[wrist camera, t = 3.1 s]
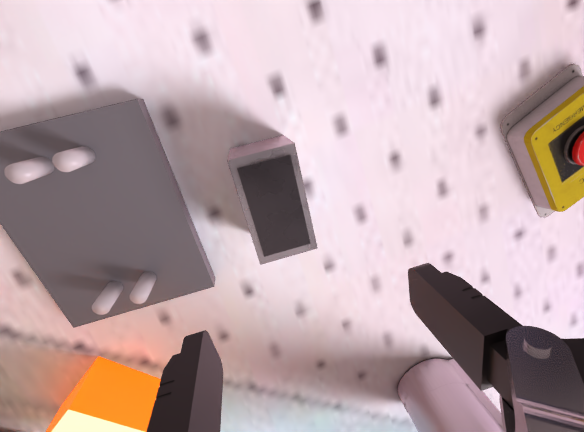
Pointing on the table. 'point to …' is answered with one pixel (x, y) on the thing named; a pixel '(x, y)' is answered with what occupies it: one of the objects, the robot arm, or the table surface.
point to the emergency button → (550, 142)
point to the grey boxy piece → (273, 197)
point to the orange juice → (108, 400)
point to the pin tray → (99, 212)
